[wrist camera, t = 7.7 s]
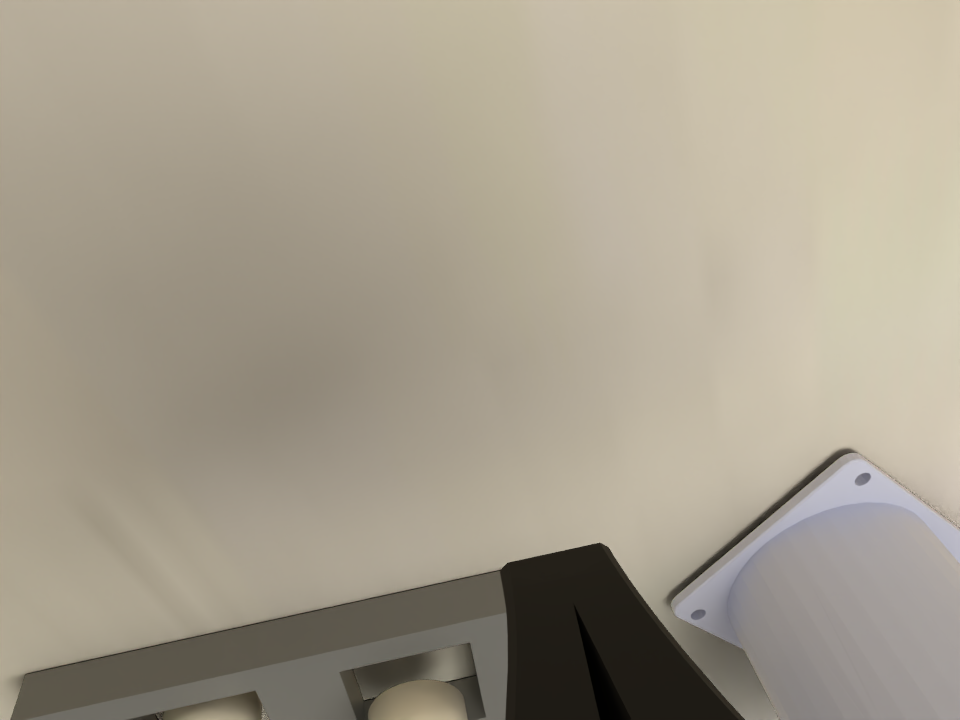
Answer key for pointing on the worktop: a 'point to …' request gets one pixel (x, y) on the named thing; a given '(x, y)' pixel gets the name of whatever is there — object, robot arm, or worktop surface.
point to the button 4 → (419, 702)
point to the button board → (291, 661)
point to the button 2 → (220, 709)
